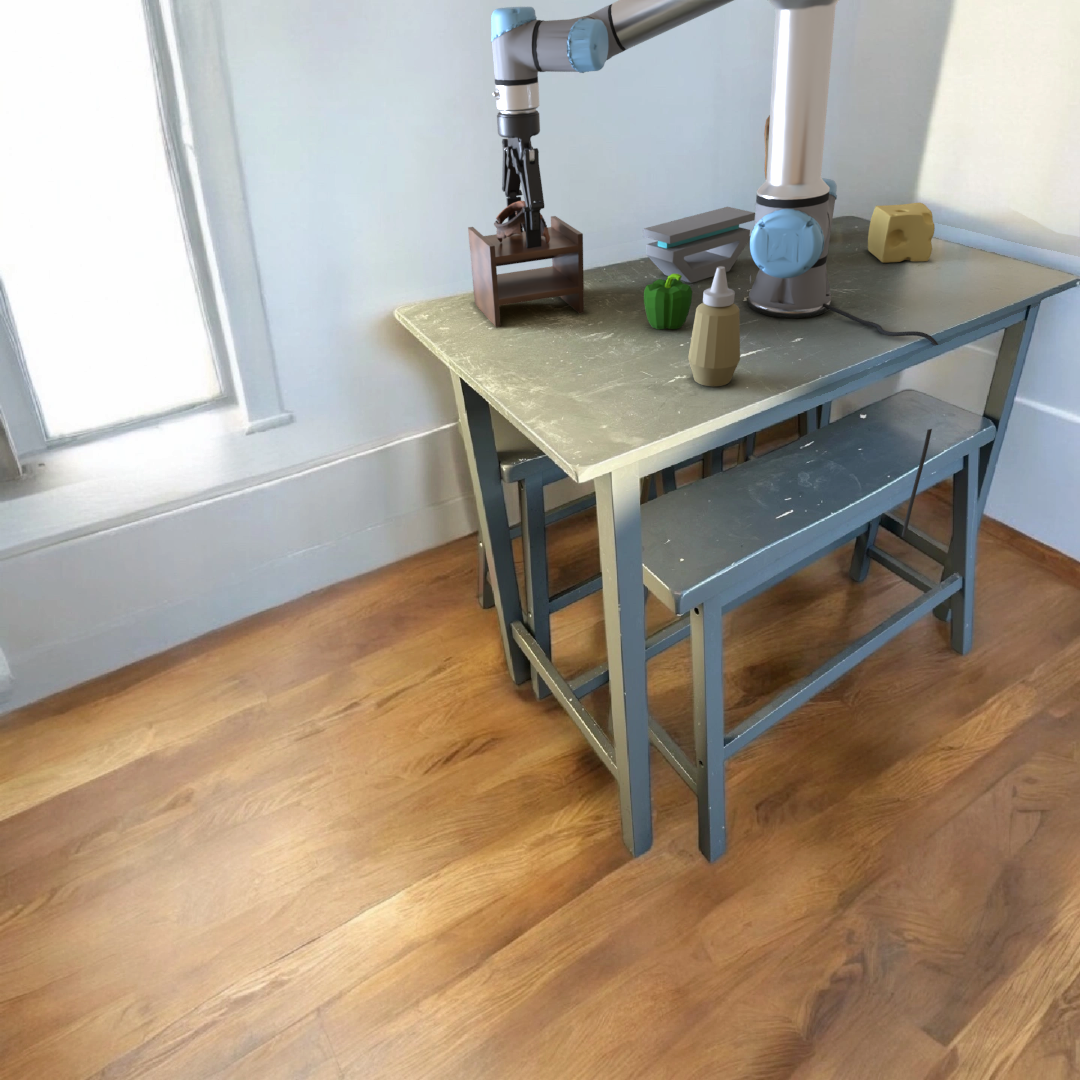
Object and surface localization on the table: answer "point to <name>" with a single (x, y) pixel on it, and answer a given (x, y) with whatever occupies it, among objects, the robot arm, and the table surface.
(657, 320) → the bell pepper
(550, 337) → the table surface
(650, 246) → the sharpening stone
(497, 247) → the shelf
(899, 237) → the cheese
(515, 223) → the pottery mug
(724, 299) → the squeeze bottle
